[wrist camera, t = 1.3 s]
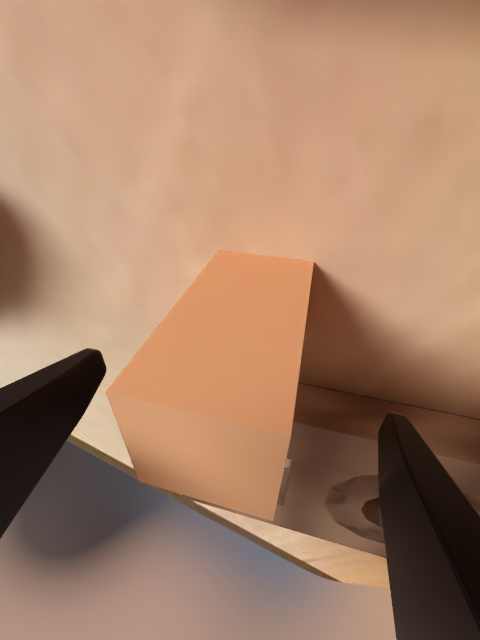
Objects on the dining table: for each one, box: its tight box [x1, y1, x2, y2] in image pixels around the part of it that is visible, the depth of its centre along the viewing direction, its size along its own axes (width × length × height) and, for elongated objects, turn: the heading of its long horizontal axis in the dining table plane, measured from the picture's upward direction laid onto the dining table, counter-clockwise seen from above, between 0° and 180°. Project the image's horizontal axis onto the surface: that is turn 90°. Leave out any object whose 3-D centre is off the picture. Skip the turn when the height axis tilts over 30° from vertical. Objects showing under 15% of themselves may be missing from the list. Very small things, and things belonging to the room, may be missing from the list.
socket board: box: [182, 383, 480, 558], centre depth 18 cm, size 18×12×2 cm, turn 88°
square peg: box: [106, 250, 314, 521], centre depth 10 cm, size 4×4×8 cm
